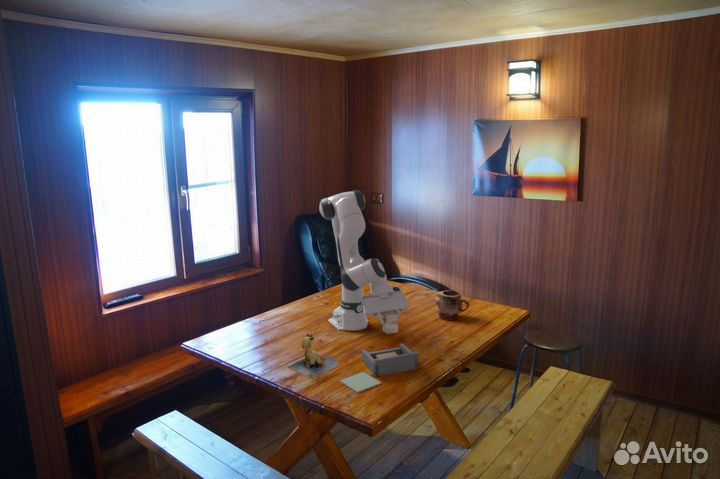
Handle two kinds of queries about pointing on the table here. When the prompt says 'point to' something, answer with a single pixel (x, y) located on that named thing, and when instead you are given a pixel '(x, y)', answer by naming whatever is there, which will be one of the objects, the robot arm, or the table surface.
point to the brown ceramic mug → (450, 304)
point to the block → (390, 322)
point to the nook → (390, 360)
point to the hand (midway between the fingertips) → (390, 322)
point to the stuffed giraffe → (312, 360)
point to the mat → (360, 382)
